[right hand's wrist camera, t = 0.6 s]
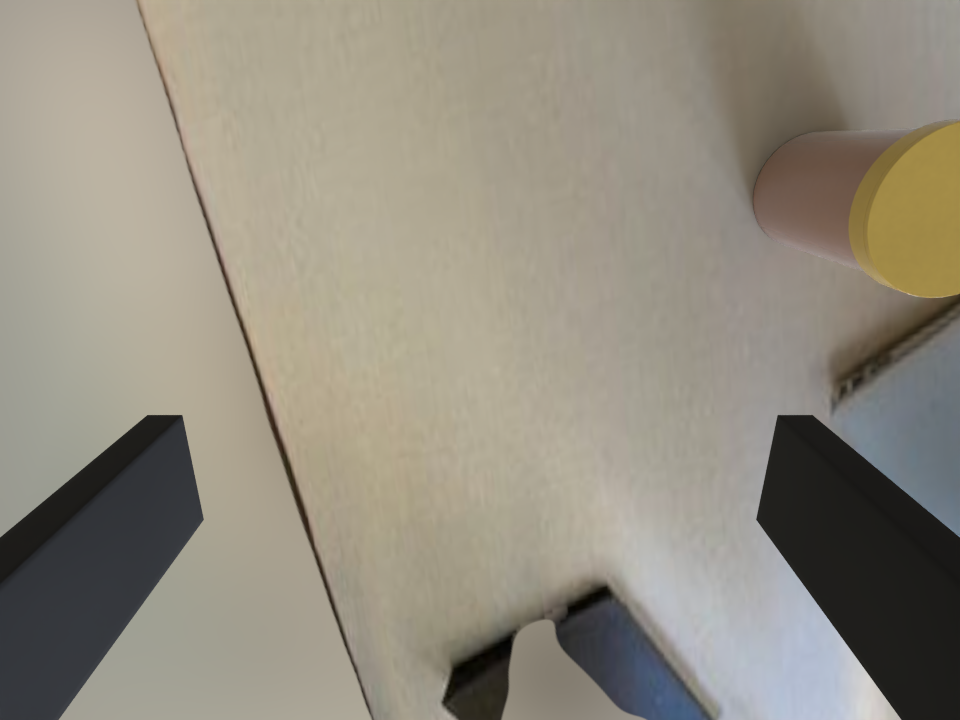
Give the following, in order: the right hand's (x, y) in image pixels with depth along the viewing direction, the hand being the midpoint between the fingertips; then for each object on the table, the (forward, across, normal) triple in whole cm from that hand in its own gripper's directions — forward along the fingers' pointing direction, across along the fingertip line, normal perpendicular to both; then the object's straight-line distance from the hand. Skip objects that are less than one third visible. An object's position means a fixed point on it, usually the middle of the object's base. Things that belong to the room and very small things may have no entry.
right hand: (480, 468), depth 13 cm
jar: (+40, +28, +3) cm, 48 cm away
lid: (+24, +28, +3) cm, 37 cm away
